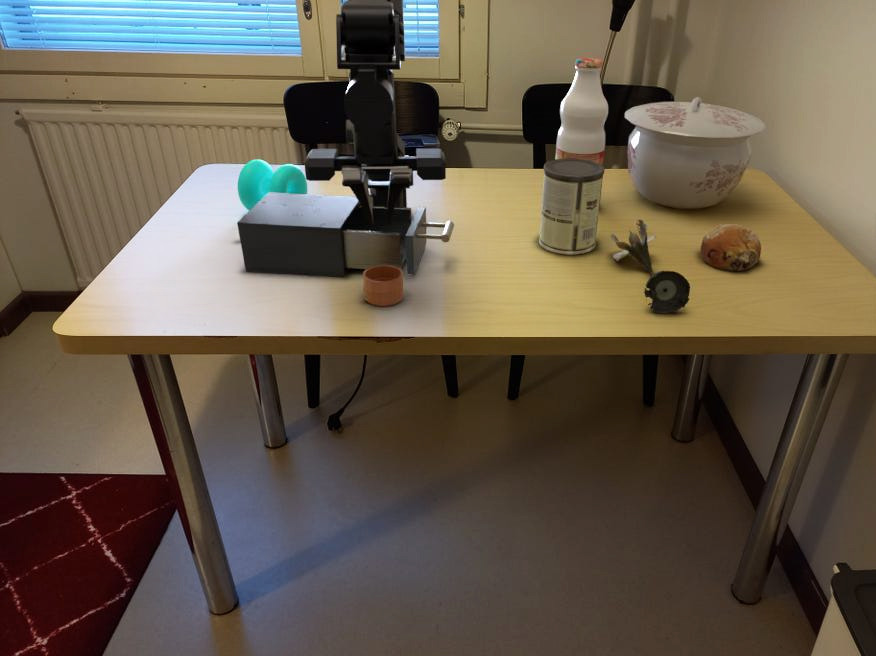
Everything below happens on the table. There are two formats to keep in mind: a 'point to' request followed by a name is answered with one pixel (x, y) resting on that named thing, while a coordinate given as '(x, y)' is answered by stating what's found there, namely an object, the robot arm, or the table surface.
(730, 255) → the bread roll
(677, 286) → the artificial flower
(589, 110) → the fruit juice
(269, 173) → the donuts
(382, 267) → the flower pot
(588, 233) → the coffee can
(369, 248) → the drawer
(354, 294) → the table surface
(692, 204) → the chamber pot
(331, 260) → the black drawer cabinet
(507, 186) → the table surface
